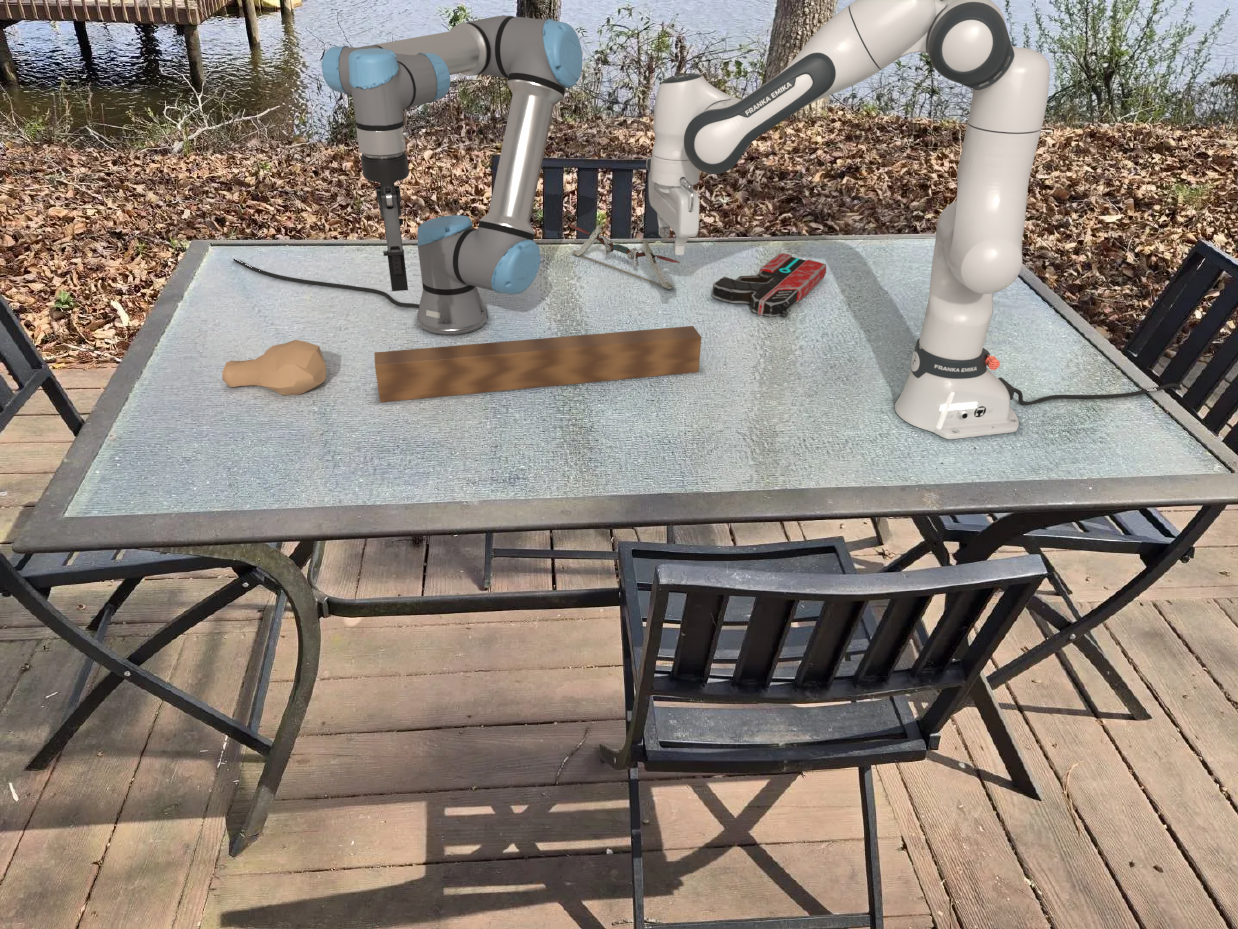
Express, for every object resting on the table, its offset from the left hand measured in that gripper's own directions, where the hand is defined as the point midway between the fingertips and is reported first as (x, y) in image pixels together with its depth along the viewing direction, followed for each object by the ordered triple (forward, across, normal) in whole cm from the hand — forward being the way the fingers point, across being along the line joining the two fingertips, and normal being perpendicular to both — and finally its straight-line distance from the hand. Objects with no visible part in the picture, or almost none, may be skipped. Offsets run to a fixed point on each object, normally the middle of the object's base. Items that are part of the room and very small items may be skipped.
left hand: (398, 275), depth 156 cm
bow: (+24, +54, -55) cm, 81 cm away
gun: (+24, +34, -88) cm, 98 cm away
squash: (+24, +7, +25) cm, 36 cm away
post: (+24, 0, -26) cm, 35 cm away
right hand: (-2, 0, -51) cm, 51 cm away
